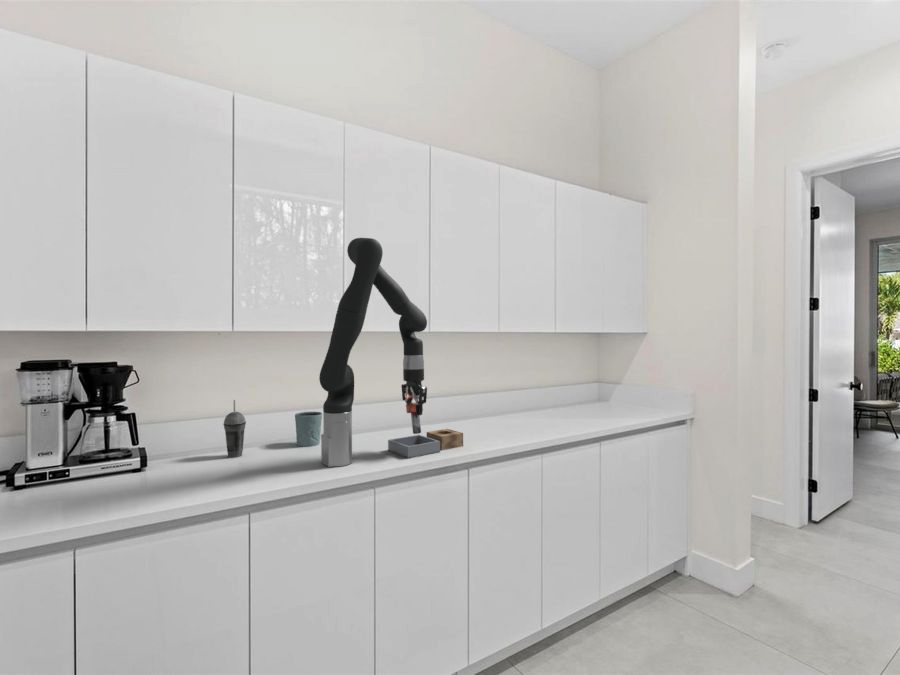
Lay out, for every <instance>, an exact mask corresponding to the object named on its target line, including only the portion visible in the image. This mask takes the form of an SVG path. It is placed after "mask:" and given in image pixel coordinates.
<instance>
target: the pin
mask: <svg viewBox="0 0 900 675" xmlns="http://www.w3.org/2000/svg"><path fill="white" fill-rule="evenodd" d="M423 406H424V404H423V405H422V412H423V411H424V408H423ZM405 409H406V410H405V411H406V413H407V414H410V418H411V426H412V427H411V429H412V434H414V435H420V434H422V428H421V419H420V418H421V417H420V416H421V415H416V402H412V403H407V405H406V404H405Z"/></svg>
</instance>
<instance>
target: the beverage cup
mask: <svg viewBox="0 0 900 675" xmlns="http://www.w3.org/2000/svg"><path fill="white" fill-rule="evenodd" d="M246 423H247V422H246V418H245V416H244V415H243V414H242V413H241V412H238V411H236V399H233V411H231V412H230V413H228V414H227V415H226V416H225V418H224V420H223V428H224V433H225V442H226V450H227V458H229V459H233V458H240V457H242V456H243V452H244V440H245V438H244V437H245V429H246V425H247V424H246Z"/></svg>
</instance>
